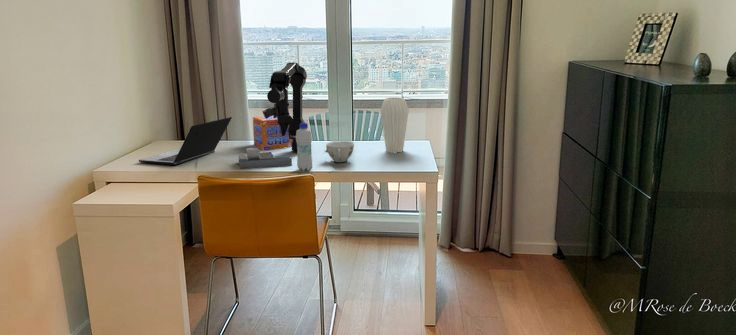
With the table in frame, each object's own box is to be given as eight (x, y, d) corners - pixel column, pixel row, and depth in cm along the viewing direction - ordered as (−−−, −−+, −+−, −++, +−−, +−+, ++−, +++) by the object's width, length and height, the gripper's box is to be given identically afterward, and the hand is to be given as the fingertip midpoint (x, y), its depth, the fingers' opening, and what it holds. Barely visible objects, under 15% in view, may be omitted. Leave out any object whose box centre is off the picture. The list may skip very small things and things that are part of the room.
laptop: (181, 150, 273) (178, 114, 268) (235, 154, 262) (232, 116, 258) (137, 162, 245) (133, 122, 241) (195, 167, 234) (192, 125, 230)
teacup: (327, 158, 250) (327, 141, 248) (354, 158, 249) (354, 141, 248) (324, 165, 235) (324, 147, 233) (353, 164, 235) (352, 146, 233)
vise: (289, 158, 248) (289, 150, 247) (294, 165, 235) (293, 156, 234) (238, 162, 242) (238, 153, 241) (240, 168, 229) (239, 159, 228)
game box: (253, 146, 280) (252, 117, 277) (282, 144, 288) (280, 115, 285) (263, 151, 267) (262, 120, 264) (293, 148, 275) (291, 118, 271)
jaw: (271, 160, 245) (271, 152, 244) (274, 165, 235) (273, 156, 234) (258, 161, 243) (257, 152, 242) (260, 166, 233) (259, 157, 232)
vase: (399, 149, 270) (400, 96, 264) (413, 153, 258) (413, 98, 253) (376, 151, 264) (375, 97, 259) (388, 156, 253) (388, 100, 247)
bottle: (307, 167, 231) (305, 121, 226) (316, 169, 225) (314, 122, 221) (293, 169, 227) (292, 122, 222) (302, 172, 221) (300, 124, 217)
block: (258, 163, 240) (257, 147, 239) (259, 165, 236) (258, 149, 235) (247, 163, 239) (246, 148, 237) (248, 165, 235) (247, 150, 233)
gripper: (261, 99, 242) (262, 133, 246) (265, 103, 225) (267, 140, 228) (285, 98, 245) (287, 132, 249) (291, 102, 228) (293, 138, 231)
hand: (283, 136), depth 239 cm, fingers closed
